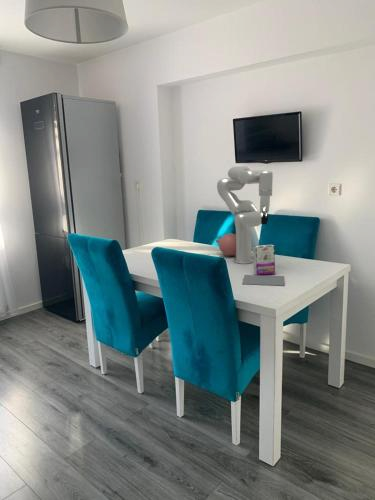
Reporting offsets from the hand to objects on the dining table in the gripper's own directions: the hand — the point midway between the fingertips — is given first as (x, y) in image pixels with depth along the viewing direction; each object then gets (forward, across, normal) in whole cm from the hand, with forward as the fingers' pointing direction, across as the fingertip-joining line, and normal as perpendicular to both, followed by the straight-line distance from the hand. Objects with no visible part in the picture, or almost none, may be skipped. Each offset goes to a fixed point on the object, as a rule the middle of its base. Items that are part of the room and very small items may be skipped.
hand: (264, 222), depth 234 cm
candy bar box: (+28, +10, +1) cm, 30 cm away
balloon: (+29, -32, -27) cm, 51 cm away
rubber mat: (+28, +22, +2) cm, 36 cm away
